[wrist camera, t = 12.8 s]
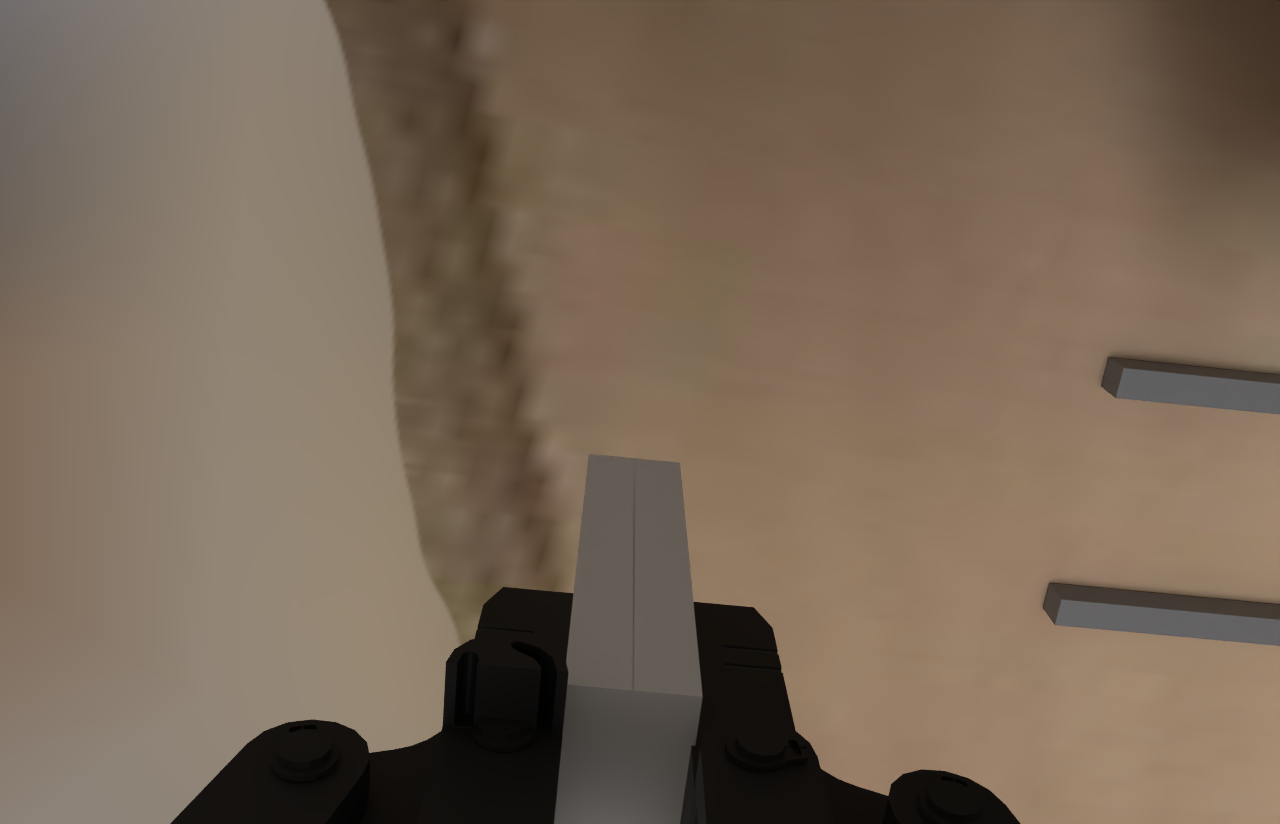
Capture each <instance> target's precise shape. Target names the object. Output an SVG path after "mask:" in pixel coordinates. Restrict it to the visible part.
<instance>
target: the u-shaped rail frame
mask: <svg viewBox="0 0 1280 824" xmlns="http://www.w3.org/2000/svg"><path fill="white" fill-rule="evenodd" d="M1101 387H1103V388H1104V389H1105V390H1106V391H1108V392H1109V393H1110V394H1112V395H1113V396H1114V397H1115V398H1122V399H1132V400H1142V401H1152V402H1162V403H1172V404H1182V405H1192V406H1202V407H1211V408H1221V409H1231V410H1241V411H1251V412H1261V413H1271V414H1280V375H1277V374H1267V373H1257V372H1247V371H1237V370H1228V369H1218V368H1208V367H1198V366H1188V365H1179V364H1169V363H1159V362H1149V361H1139V360H1130V359H1120V358H1110V357H1109V358H1108V362H1107V366H1106V370H1105V373H1104V377H1103V381H1102V385H1101ZM1043 609H1044V610H1045V612H1046V613H1047V614H1048V616H1049V617H1050V619H1051V620H1052V622H1053V623H1054V625H1060V626H1071V627H1082V628H1092V629H1103V630H1114V631H1125V632H1136V633H1147V634H1157V635H1168V636H1179V637H1190V638H1201V639H1212V640H1222V641H1233V642H1244V643H1255V644H1266V645H1277V646H1280V605H1279V604H1268V603H1258V602H1247V601H1236V600H1226V599H1215V598H1204V597H1194V596H1183V595H1172V594H1162V593H1151V592H1140V591H1130V590H1119V589H1108V588H1098V587H1087V586H1076V585H1066V584H1055V583H1049V587H1048V591H1047V594H1046V598H1045V602H1044V606H1043Z"/></svg>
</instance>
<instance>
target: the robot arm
mask: <svg viewBox="0 0 1280 824" xmlns="http://www.w3.org/2000/svg"><path fill="white" fill-rule="evenodd" d="M171 824H1020V822H1019V821H1018V820H1017V819H1016V817H1015V816H1014V815H1013V814H1012V812H1011V811H1010V810H1009V809H1008V807H1007V806H1006V805H1005V804H1004V803H1003V802H1002V801H1001V800H1000V799H998V798H997V797H996V796H995V795H994V794H993V793H992V792H991V791H990V790H988V789H987V788H985V787H983V786H981V785H979V784H978V783H976V782H974V781H972V780H970V779H969V778H966V777H963V776H959V775H957V774H953V773H949V772H946V771H936V770H918V771H914V772H910V773H906V774H903V775H902V776H900V777H899V778H898V779H897V780H896V781H894V782H893V783H892V784H891V788H890V792H889V796H886V795H883V794H880V793H876V792H873V791H870V790H867V789H864V788H860V787H857V786H854V785H852V784H849V783H847V782H844V781H842V780H839V779H837V778H835V777H834V776H832V775H830V774H828V773H827V772H825V771H823V770H822V769H821V768H820V765H819V761H818V757H817V755H816V753H815V752H814V750H813V748H812V746H811V744H810V743H809V742H808V741H807V740H806V739H804V738H803V737H802V736H801V735H800V734H799V733H797V732H796V731H795V726H794V722H793V717H792V713H791V708H790V704H789V699H788V695H787V690H786V686H785V681H784V677H783V673H781V664H780V659H779V655H778V654H777V646H776V641H775V637H774V632H773V628H772V627H771V626H770V625H769V624H768V623H767V621H766V620H765V619H764V618H763V617H762V616H761V615H760V614H759V613H758V612H757V611H756V609H755V608H754V607H743V606H733V605H722V604H711V603H700V602H693V593H692V583H691V573H690V562H689V552H688V542H687V531H686V521H685V511H684V501H683V490H682V480H681V470H680V463H677V462H667V461H656V460H646V459H636V458H625V457H615V456H605V455H594V454H589V458H588V467H587V476H586V485H585V495H584V504H583V513H582V522H581V531H580V540H579V549H578V558H577V567H576V576H575V585H574V594H573V593H563V592H552V591H541V590H530V589H519V588H508V587H503V588H502V589H501V590H499V591H498V592H497V593H496V594H495V595H494V596H493V597H491V598H490V599H489V600H488V601H487V602H486V603H485V604H484V605H483V609H482V612H481V616H480V620H479V624H478V630H477V631H476V635H475V639H472V640H469V641H468V642H466V643H464V644H463V645H461V646H459V647H458V648H456V649H454V651H453V652H452V654H451V655H450V657H449V658H448V660H447V662H446V675H445V694H444V713H443V727H442V731H441V732H439V733H438V734H436V735H434V736H433V737H431V738H430V739H428V740H426V741H423V742H420V743H418V744H415V745H413V746H409V747H404V748H399V749H395V750H388V751H381V752H373V753H369V751H368V745H367V742H366V741H365V740H364V739H363V738H362V737H361V736H360V735H359V734H358V733H357V732H356V731H355V730H353V729H351V728H348V727H346V726H344V725H341V724H339V723H336V722H330V721H320V720H304V721H296V722H288V723H285V724H282V725H279V726H277V727H274V728H271V729H269V730H266V731H264V732H263V733H261V734H260V735H259V736H257V737H256V738H254V739H253V740H252V741H250V742H249V743H247V745H246V746H244V748H243V749H242V750H241V751H240V752H239V753H238V754H237V755H236V756H235V757H234V758H233V759H232V760H231V761H230V762H229V763H228V764H227V765H226V766H225V767H224V768H223V769H222V770H221V771H220V773H219V774H218V775H217V776H216V777H215V778H214V779H213V780H212V781H211V782H210V783H209V784H208V785H207V786H206V787H205V788H204V789H203V790H202V791H201V792H200V793H199V794H198V796H196V797H195V799H194V800H193V801H192V802H191V803H190V804H189V805H188V806H187V807H186V808H185V809H184V810H183V811H182V812H181V813H180V814H179V815H178V816H177V817H176V818H175V820H173V822H172V823H171Z"/></svg>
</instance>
